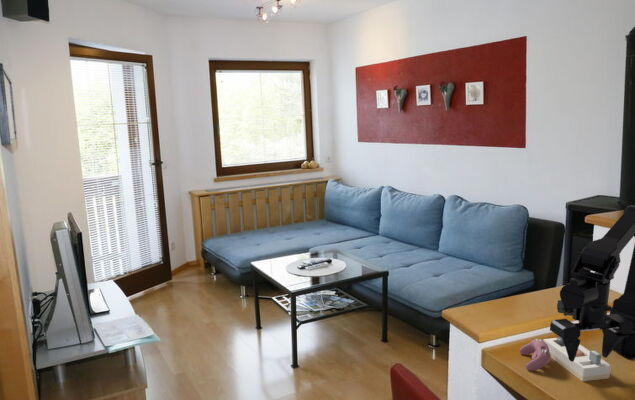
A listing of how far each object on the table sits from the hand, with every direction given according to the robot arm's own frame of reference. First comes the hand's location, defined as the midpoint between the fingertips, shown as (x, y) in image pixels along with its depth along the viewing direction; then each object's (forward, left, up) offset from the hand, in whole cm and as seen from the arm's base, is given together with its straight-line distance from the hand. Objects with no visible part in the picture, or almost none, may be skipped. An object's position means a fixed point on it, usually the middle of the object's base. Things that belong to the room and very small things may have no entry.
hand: (587, 358), depth 124 cm
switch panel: (-1, -6, -4) cm, 7 cm away
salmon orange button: (-1, -5, -3) cm, 6 cm away
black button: (-1, -11, -2) cm, 11 cm away
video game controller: (+9, -8, -5) cm, 13 cm away
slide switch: (-2, 0, -3) cm, 4 cm away
